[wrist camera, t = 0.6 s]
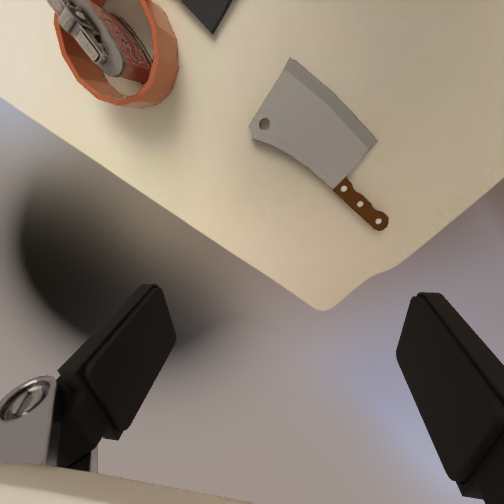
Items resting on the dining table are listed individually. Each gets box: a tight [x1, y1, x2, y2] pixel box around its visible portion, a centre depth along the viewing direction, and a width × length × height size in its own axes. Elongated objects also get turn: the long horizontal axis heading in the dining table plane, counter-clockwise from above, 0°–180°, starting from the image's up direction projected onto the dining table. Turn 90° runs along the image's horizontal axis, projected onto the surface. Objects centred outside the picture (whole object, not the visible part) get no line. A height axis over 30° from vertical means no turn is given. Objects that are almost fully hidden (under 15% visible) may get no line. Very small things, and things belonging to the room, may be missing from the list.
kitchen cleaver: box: [249, 58, 388, 231], centre depth 32 cm, size 24×1×10 cm
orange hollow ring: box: [54, 0, 179, 108], centre depth 28 cm, size 12×12×5 cm
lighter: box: [46, 0, 153, 85], centre depth 26 cm, size 8×3×10 cm, turn 35°
